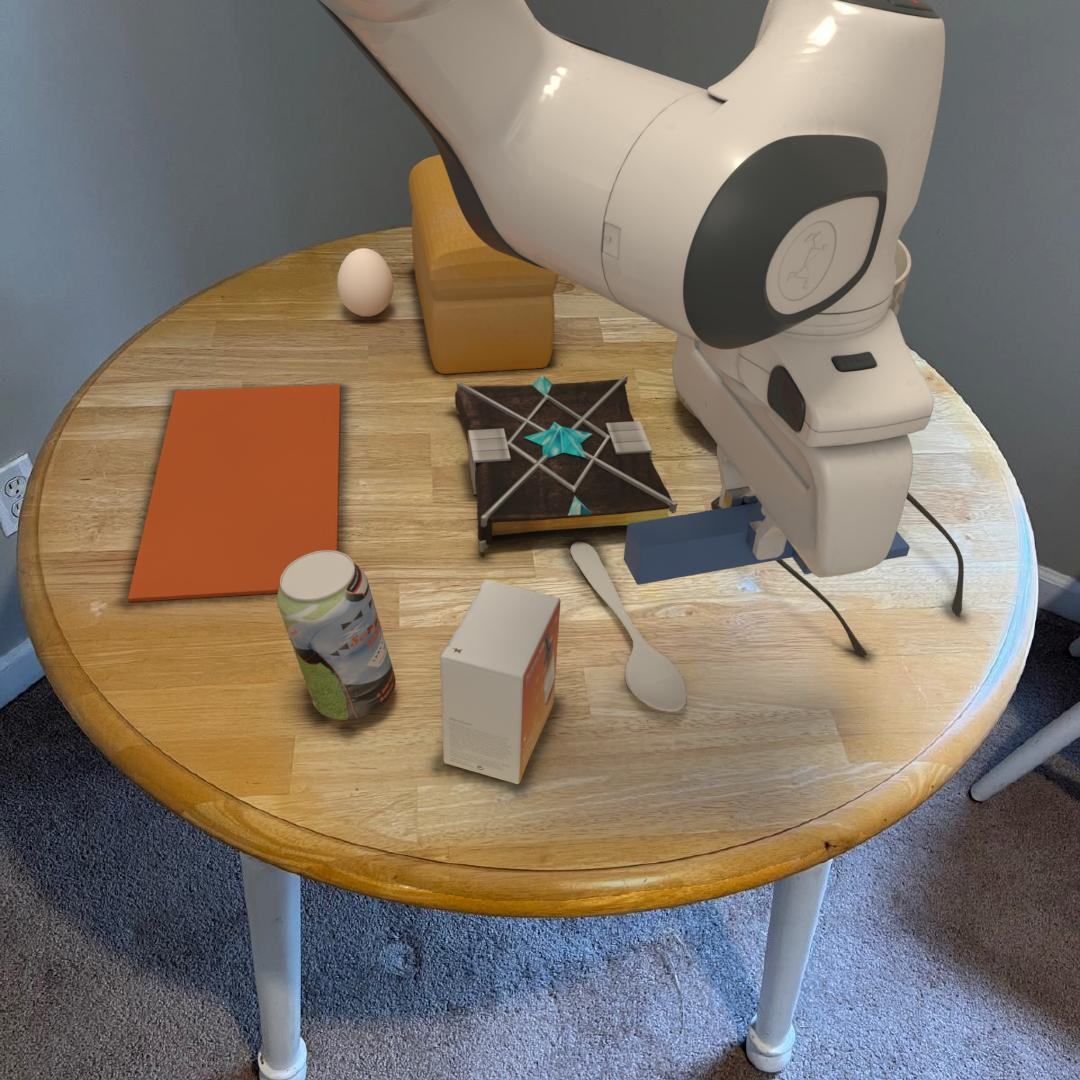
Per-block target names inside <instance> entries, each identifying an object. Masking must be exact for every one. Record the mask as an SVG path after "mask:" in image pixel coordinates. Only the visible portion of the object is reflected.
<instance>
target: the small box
mask: <svg viewBox="0 0 1080 1080" xmlns="http://www.w3.org/2000/svg"><path fill="white" fill-rule="evenodd" d="M561 604H562V603H561V598H560V597H557V596H553V595H550V594H546V593H543V592H539V591H534V590H530V589H526V588H523V587H519V586H515V585H512V584H507V583H503V582H500V581H496V580H493V579H487V578H485V579H483V580H482V582H481V584H480V585H479V588H478V590H477V592H476V594H475V596H474V597H473V599H472V602H471V603H470V605H469V606H468V609H467V610H466V612H465V614H464V616H463V618H462V619H461V621H460V623H459V624H458V626H457V628H456V629H455V631H454V634H453V635H452V636H451V637H450V640H449V641H448V643H447V644H446V645H445V647H444V649H443V650H442V651H441V653H440V655H439V669H440V700H441V728H442V730H441V731H442V752H443V753H442V755H443V756H442V757H443V763H444V764H446V765H449V766H453V767H456V768H460V769H464V770H467V771H471V772H474V773H477V774H482V775H485V776H488V777H491V778H495V779H498V780H502V781H505V782H509V783H511V784H512V783H513V784H515V785H519V784H520V783H521V781H522V779H523V776H524V773H525V770H526V769H527V766H528V763H529V761H530V759H531V756H532V754H533V751H534V749H535V747H536V745H537V743H538V740H539V738H540V736H541V733H542V732H543V729H544V727H545V725H546V722H547V720H548V718H549V716H550V714H551V711H552V709H553V706H554V703H555V686H556V672H557V657H558V645H559V644H558V643H559V630H560V629H559V628H560V615H561Z"/></svg>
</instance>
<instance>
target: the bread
mask: <svg viewBox="0 0 1080 1080" xmlns="http://www.w3.org/2000/svg"><path fill="white" fill-rule="evenodd" d="M408 192H409V193H408V194H409V199H410V203H411V207H412V211H411V240H412V241H411V246H412V258H413V268H414V276H415V283H416V287H417V293H418V298H419V304H420V308H421V313H422V318H423V324H424V329H425V333H426V334H425V335H426V340H427V344H428V345H427V346H428V349H429V355H430V359H431V362H432V365H433V367H434V369H435V371H436V372H438V373H439V374H444V375H445V374H446V375H448V374H449V375H450V374H466V373H481V372H482V373H483V372H497V371H513V370H530V369H543V368H546V367H548V365H549V364H550V361H551V358H552V354H553V348H554V339H555V337H554V336H555V299H554V292H555V290H556V287H557V285H558V284H557V283H558V280H559V275H558V274H556V273H554V272H552V271H550V270H547V269H544V268H541V267H538V266H535V265H532V264H530V263H527V262H525V261H522V260H519V259H517V258H514V257H512V256H509V255H507V254H504V253H501V252H499V251H497V250H495V249H493V248H491V247H490V246H488V245H487V244H486V243H484V242H483V241H482V240H481V239H480V238H479V237H478V236H477V235H476V234H475V232H474V231H473V230H472V229H471V227H470V225H469V224H468V222H467V221H466V219H465V217H464V215H463V213H462V211H461V209H460V207H459V204H458V202H457V199H456V197H455V194H454V191H453V188H452V185H451V183H450V180H449V177H448V174H447V171H446V168H445V166H444V163H443V160H442V158H441V156H440V154H437V155H433V156H430V157H427V158H425V159H422V160H421V161H420V162H418V163H417V164H416V165H414V166H413V168H412V169H411V170H410V173H409V178H408Z"/></svg>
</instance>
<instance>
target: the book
mask: <svg viewBox="0 0 1080 1080" xmlns="http://www.w3.org/2000/svg"><path fill="white" fill-rule="evenodd" d="M628 377H629V375H626V374H624V375H623V376H622V377H620V378H618V379H605V380H594V381H592V380H591V381H581V382H562V383H552V382H551V381H550V380H549V379H548V378H547V377H546V376H545V375H544V374H542V375H541V376H540V377H538V378H537V379H536V380H535V381H534V382H533V383H532V384H517V385H467V384H465V383H463V382H462V381H458V382H456V391H455V392H454V402H455V403H454V404H455V414H456V415H459V417H460V420H461V422H462V425H463V427H464V430H465V433H466V435H467V439H468V441H467V443H468V445H467V447H468V448H467V449H468V454H467V455H468V468H469V469H468V470H469V474H470V480H471V486H472V491H473V495H474V496H475V495H476V513H477V515H476V517H477V519H476V520H477V540H478V541H479V542H478V543H479V544H478V551H480V552H481V553H482V552H483V553H484V552H485V551H486V550H487V549H488V548H489V546H500V545H507V544H516V543H523V542H532V541H541V540H550V539H564V538H565V539H566V538H578V537H579V538H580V537H592V536H605V535H606V536H607V535H617V534H627V526H628V524H630V523H636V522H642V521H648V520H654V519H660V518H666V517H669V512H670V513H672V514H675V513H676V512H677V507H678V502H676V501H675V500H673V499H672V497H671V495H670V493H669V491H668V490H667V488H666V486H665V483H664V482H663V480H662V478H661V476H660V474H659V473H658V470H657V469H656V467H655V465H654V463H653V461H652V454H653V449H652V446H651V443H650V441H649V439H648V437H647V434H646V432H645V429H644V427H643V424H642V422H641V420H638V421H637V420H636V421H635V420H634V417H633V415H632V413H631V410H630V404H629V398H628V394H627V388H626V385H627V384H628V380H629V379H628Z"/></svg>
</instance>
